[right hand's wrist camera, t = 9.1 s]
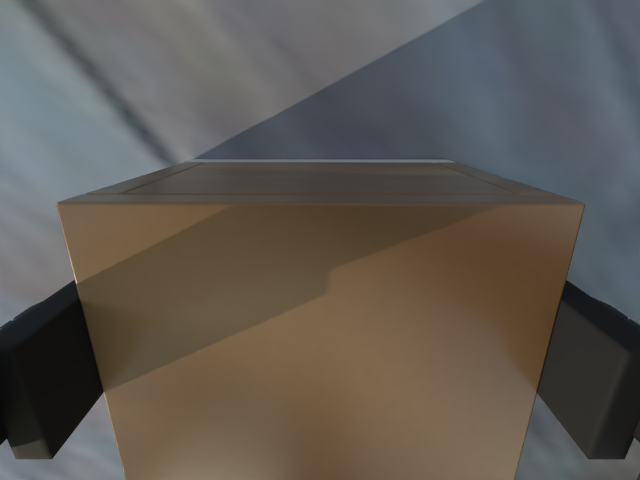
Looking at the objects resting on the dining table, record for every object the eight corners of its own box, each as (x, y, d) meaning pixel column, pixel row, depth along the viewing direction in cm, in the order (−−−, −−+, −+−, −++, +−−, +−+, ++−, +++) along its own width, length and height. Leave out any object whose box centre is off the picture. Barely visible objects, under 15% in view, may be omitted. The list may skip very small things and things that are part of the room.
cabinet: (409, 485, 22) (460, 694, 14) (230, 485, 22) (179, 694, 14) (448, 159, 15) (588, 202, 7) (192, 159, 15) (52, 202, 7)
